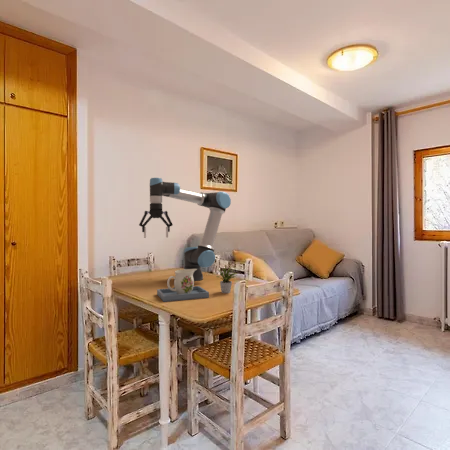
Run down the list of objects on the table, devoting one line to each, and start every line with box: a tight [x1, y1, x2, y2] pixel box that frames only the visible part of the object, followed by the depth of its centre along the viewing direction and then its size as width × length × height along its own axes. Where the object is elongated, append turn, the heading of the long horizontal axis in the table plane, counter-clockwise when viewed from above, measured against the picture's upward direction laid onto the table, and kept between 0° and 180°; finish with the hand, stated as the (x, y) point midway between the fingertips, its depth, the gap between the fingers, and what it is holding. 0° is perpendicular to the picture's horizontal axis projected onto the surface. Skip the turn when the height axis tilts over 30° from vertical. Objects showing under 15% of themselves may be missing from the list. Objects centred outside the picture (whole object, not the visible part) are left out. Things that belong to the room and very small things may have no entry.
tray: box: [156, 285, 210, 303], centre depth 182 cm, size 25×18×3 cm
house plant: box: [214, 266, 238, 294], centre depth 191 cm, size 14×14×16 cm
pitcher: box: [166, 269, 197, 295], centre depth 182 cm, size 11×18×14 cm, turn 122°
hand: (156, 237), depth 201 cm, fingers open, 13 cm apart
